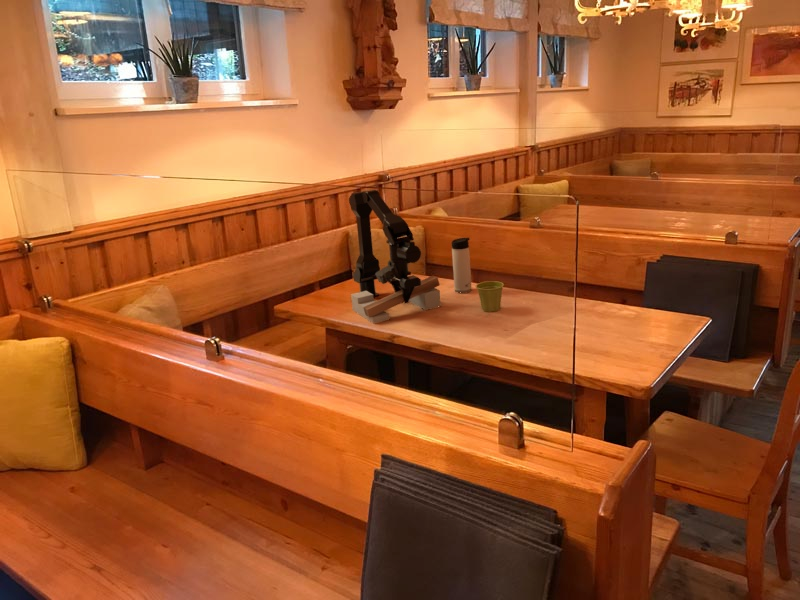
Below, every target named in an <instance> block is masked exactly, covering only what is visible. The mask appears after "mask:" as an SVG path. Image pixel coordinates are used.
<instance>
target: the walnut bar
mask: <svg viewBox="0 0 800 600" xmlns="http://www.w3.org/2000/svg"><path fill="white" fill-rule="evenodd" d="M440 284H441V283H440V281H439V277H438V276H435V275H430V276H428V277H426V278H424V279H421V285H420V286H416V287H414V289H413V291H412V294H411V296H410V299H411V298H413V297H415V296H418V295H420V294H422V293H424V292H426V291H428V290H431V289H433V288H437V287H439V286H440ZM375 301H376V302H373V303H371V304H369V305H367V306H365V307H363V309H364V312H365V315H366V316H368V317H369V318H370V317H372V316H375V315H377V314H379V313H381V312H383V311H385V312H386V311H388V310H389V309H392V308H394V307H396V306H398V305H400V304H402V303H405V302H404V299H403V294H402V290H400V291H398V292H395V291H394V292H393V293H391V294H389V295H387V296H385V297H382V298H381V299H378V300H375Z"/></svg>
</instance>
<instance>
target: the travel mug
mask: <svg viewBox="0 0 800 600" xmlns="http://www.w3.org/2000/svg"><path fill="white" fill-rule="evenodd" d="M470 240H471V239H470V237H460V238H455V239H453V240H452V241H451V254H452V256H451V257H452V270H453V282H454V283H453V285H454V287H453V288H454V292H455V293H456V292H458V293H457V294H466V293H465V292H468V293H470V292H472V289H473V288H472V276H471V274H472V273H471V259H470V255H471V254H470V245H469V244H470V243H469V241H470ZM469 291H470V292H469ZM460 292H461V293H460Z"/></svg>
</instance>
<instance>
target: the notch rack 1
mask: <svg viewBox="0 0 800 600" xmlns="http://www.w3.org/2000/svg"><path fill="white" fill-rule="evenodd" d="M350 296H351V297H350V298H351V307H352V311H353V312H355V313H357V314H358V315H359V316H361V317H363V318H364V319H366V320H367V321H369V322H371V323H372V324H378V323H381V322H385V320H386V321H390V320H389V319H390V314H389V313H388V312H387V311H386V310H385V311H383V312H381V313H379V314H377V315H375V316H372V317H370V318H369V317H368V316H366V315H365V312H364V309H363V307H365V306H367V305H369V304H371V303H373V302H376V301H377V300H375V299H374V298H375V297H373V294H371V293H370V292H368V291H363V292H360V291H359V292H355V293H351V294H350ZM377 322H378V323H377Z"/></svg>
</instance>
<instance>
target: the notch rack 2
mask: <svg viewBox="0 0 800 600" xmlns="http://www.w3.org/2000/svg"><path fill="white" fill-rule="evenodd" d="M408 303H411V304H413V305H415V306H416V305H417V306H416V307H418V306H419V308H420V307H421V309H422V308H423V310H424V309H425V310H424V311H429V310H428V309H430V310H433V309H437V308H439V307H438V306H441V307H442V305H441V304H442V303H441V292H440V289H437V287H435V288H433V289H431V290H428V291H426V292H424V293H422V294H420V295H418V296H415V297H413V298H411V299H409V301H408ZM436 307H437V308H436ZM432 308H433V309H432Z"/></svg>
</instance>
